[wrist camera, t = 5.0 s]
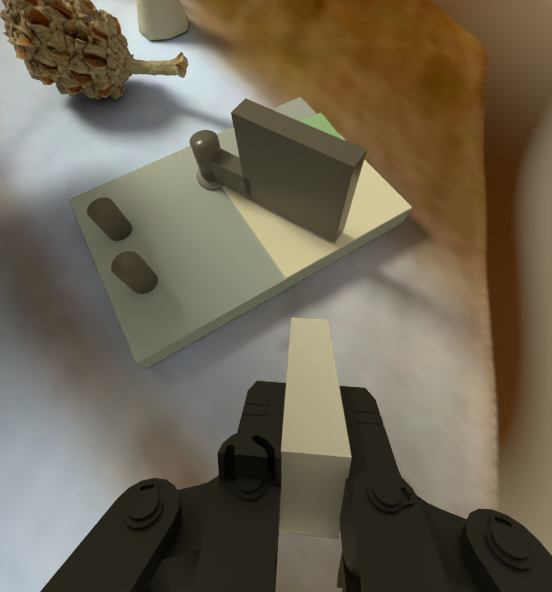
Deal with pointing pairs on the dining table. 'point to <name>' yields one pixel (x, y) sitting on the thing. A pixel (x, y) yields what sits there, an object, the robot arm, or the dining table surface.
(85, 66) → the pine cone
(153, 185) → the board
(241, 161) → the gate
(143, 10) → the flask
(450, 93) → the dining table surface
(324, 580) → the dining table surface
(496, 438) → the dining table surface
